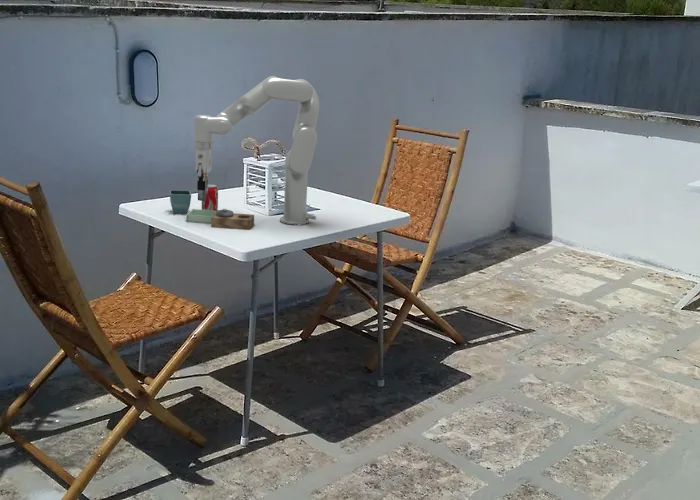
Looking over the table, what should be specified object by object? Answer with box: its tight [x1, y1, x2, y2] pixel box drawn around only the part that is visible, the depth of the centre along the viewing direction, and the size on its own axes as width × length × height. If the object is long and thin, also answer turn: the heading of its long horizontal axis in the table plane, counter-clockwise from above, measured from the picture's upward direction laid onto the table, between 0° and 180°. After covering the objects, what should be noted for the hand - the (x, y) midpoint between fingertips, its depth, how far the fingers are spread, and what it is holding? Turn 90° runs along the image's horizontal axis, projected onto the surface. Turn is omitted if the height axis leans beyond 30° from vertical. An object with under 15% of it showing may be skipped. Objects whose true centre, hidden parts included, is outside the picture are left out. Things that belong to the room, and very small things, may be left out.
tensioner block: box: [210, 208, 255, 231], centre depth 330 cm, size 16×10×7 cm, turn 87°
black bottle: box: [197, 174, 208, 202], centre depth 334 cm, size 4×4×11 cm
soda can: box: [201, 183, 219, 211], centre depth 349 cm, size 7×7×12 cm
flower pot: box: [169, 189, 192, 215], centre depth 346 cm, size 9×9×9 cm
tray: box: [185, 208, 216, 225], centre depth 337 cm, size 11×11×3 cm
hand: (202, 188), depth 334 cm, fingers closed on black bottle, 3 cm apart
